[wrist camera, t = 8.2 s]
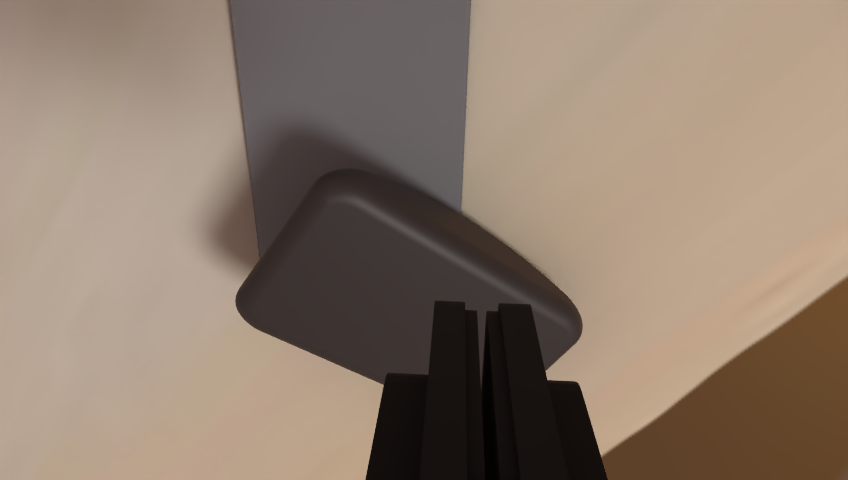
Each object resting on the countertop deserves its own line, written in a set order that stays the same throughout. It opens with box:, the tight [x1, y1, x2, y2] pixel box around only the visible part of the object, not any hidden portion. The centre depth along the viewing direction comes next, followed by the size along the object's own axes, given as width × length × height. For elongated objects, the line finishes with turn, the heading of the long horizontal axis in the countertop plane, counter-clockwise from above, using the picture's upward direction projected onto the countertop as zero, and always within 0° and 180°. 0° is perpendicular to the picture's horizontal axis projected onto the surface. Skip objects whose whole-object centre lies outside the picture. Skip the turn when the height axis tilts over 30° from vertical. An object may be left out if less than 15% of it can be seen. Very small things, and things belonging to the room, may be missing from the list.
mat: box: [230, 0, 471, 259], centre depth 28 cm, size 11×16×1 cm
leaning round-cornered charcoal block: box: [236, 168, 582, 385], centre depth 29 cm, size 16×5×10 cm
